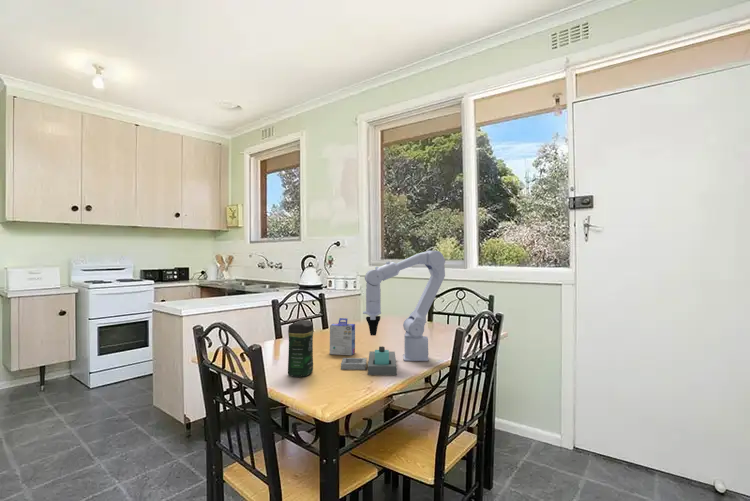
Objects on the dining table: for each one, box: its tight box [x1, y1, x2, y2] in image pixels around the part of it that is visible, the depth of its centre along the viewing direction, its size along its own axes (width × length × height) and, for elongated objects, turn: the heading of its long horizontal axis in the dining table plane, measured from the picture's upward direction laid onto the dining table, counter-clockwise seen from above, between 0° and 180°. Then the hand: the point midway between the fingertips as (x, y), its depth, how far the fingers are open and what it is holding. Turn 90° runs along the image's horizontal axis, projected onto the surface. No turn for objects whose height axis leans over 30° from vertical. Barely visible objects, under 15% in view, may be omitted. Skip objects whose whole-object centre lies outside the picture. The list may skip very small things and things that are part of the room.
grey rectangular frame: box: [340, 357, 367, 371], centre depth 150 cm, size 9×8×2 cm
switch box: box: [367, 350, 398, 376], centre depth 149 cm, size 10×20×3 cm, turn 179°
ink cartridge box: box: [329, 317, 356, 356], centre depth 168 cm, size 10×6×14 cm, turn 78°
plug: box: [374, 346, 390, 364], centre depth 144 cm, size 5×4×8 cm
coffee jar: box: [287, 319, 314, 378], centre depth 141 cm, size 10×8×19 cm
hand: (373, 335), depth 157 cm, fingers closed
